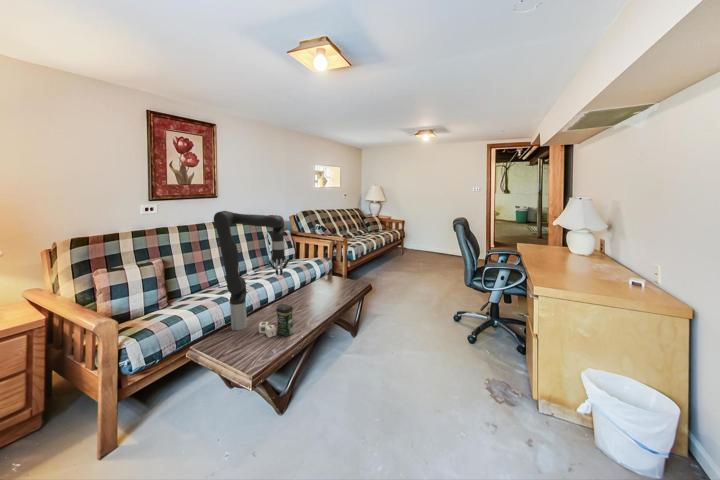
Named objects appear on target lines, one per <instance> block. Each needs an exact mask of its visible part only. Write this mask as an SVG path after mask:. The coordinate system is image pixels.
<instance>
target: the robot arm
mask: <svg viewBox="0 0 720 480" xmlns="http://www.w3.org/2000/svg"><path fill="white" fill-rule="evenodd" d="M213 223H214V226H215V229H216V233H217V236H218V242H219V247H220V254H221V258H222V262H223V266H224V272H225V278H226V279H225V280H226V288H227V291H228V292H229V293H230V297H229V309H230V326H231V327H230V328H231V331H242V330H245V329H246V328H247V327H248V320H247V317H248V316H247V305H246V300H247V299H246V298H247V283H246V280H245V278H243V277H242V276H240V274H239V262H240V261H239V260H240V256H239V251H238V246H237V244H236V242H235V240H234V238H233V235H232V234H231V229H230V228H231V227H230V226H231V225H245V226H251V227H265V228H272V233H271V255H272V256H271V259H270V260H267V263H268V264H269V266H270V267H271V268H272V269H273V270H275V274H276V276H279V275H280V276H282V274H283V270H284V269H285V268H286V267H287V265H288V264H289V262H290V259H289V258H287V257H286V254H285V253H286V252H285V240H284V239H285V236H284V230H285V221H284V218H283V216H282V215H274V216H272V215H271V216H268V215H265V214H249V213H248V214H246V213H245V214H244V213H237V212H233V211H227V210H221V211H217V212H215V213H214V215H213ZM273 263H274V264H273Z"/></svg>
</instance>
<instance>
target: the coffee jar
mask: <svg viewBox="0 0 720 480" xmlns="http://www.w3.org/2000/svg"><path fill="white" fill-rule="evenodd" d="M293 308H294V307H293V306H292V305H290V304H286V303H280V304H278V305H277V306H276V315H277V325H276V326H277V327H276V334H278V335H281V336H284V337H288V336H291V335H292V334H293V333H294V323H293V322H294V321H293V313H294V309H293Z"/></svg>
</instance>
